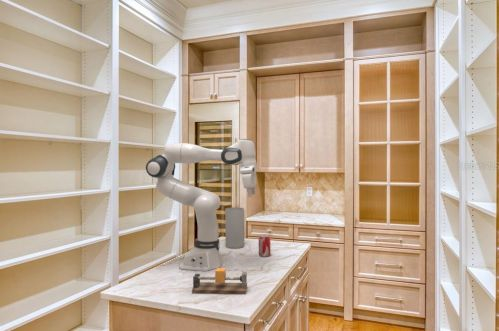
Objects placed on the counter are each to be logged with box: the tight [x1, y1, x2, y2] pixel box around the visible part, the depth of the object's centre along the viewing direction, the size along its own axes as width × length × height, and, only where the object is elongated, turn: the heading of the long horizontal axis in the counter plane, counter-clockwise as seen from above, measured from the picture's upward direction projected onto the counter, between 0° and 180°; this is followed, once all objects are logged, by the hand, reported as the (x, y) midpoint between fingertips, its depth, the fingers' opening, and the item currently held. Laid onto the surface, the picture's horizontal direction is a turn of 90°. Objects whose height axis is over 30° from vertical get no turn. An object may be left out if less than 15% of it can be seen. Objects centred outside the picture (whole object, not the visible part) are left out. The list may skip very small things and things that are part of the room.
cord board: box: [191, 271, 248, 295], centre depth 144 cm, size 23×9×8 cm, turn 86°
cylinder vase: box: [224, 206, 245, 249], centre depth 218 cm, size 12×12×25 cm
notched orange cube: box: [214, 267, 227, 283], centre depth 144 cm, size 4×4×5 cm
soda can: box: [258, 234, 271, 258], centre depth 196 cm, size 7×7×12 cm
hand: (251, 195), depth 173 cm, fingers open, 8 cm apart
